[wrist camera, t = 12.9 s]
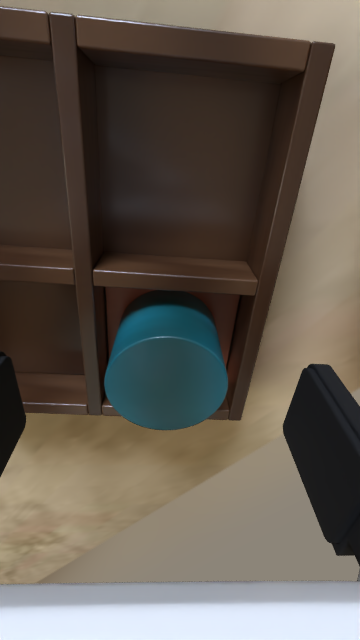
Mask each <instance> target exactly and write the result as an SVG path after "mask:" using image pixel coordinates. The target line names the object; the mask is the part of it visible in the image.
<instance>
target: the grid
mask: <svg viewBox="0 0 360 640" xmlns="http://www.w3.org/2000/svg"><path fill="white" fill-rule="evenodd" d="M334 49H335V44H333V43H325V42H316V41H314V42H312V43H311V42H310V41H306V40H297V39H288V38H279V37H270V36H261V35H253V34H244V33H235V32H226V31H217V30H208V29H199V28H190V27H182V26H173V25H164V24H155V23H146V22H137V21H128V20H119V19H110V18H102V17H93V16H84V15H77V16H76V17H75V16H74V15H72V14H66V13H57V12H50V13H49V14H48V13H47V12H46V11H39V10H31V9H22V8H13V7H4V6H0V351H2V352H4V353H5V354H6V356H9V357H10V358H11V359H12V363H13V367H14V371H15V375H16V379H17V383H18V387H19V391H20V395H21V399H22V403H23V407H24V411H25V413H50V414H77V415H88V413H89V415H102V414H103V415H105V416H121V415H120V414H119V413H118V412H117V411H116V410H115V409H114V408H113V406H112V405H111V404H110V402H109V400H108V398H107V395H106V392H105V386H104V378H105V373H106V369H107V366H108V362H109V359H110V355H111V352H112V348H113V345H114V341H115V338H116V334H117V331H118V327H119V324H120V320H121V317H122V315H123V313H124V311H125V309H126V308H127V307H128V305H129V304H130V303H131V302H132V301H133V300H135V299H136V298H138V297H139V296H141V295H143V294H145V293H147V292H150V291H154V290H168V291H184V292H187V293H190V294H192V295H194V296H195V297H197V298H198V299H200V300H201V301H202V302H203V303H204V304H205V305H206V306H207V307H208V308H209V310H210V311H211V313H212V315H213V318H214V321H215V325H216V329H217V333H218V338H219V342H220V346H221V350H222V355H223V359H224V363H225V367H226V371H227V376H228V390H227V393H226V396H225V399H224V401H223V403H222V404H221V406H220V407H219V408H218V409H217V411H216V412H215V413H213V414H212V415H211V416H210V417H209V418H207V419H214V420H227V419H228V420H238V421H240V420H241V417H242V413H243V409H244V405H245V402H246V398H247V394H248V390H249V386H250V382H251V378H252V374H253V370H254V366H255V362H256V358H257V354H258V350H259V346H260V342H261V338H262V334H263V330H264V326H265V322H266V318H267V314H268V310H269V306H270V303H271V299H272V295H273V291H274V287H275V283H276V279H277V275H278V271H279V267H280V263H281V259H282V255H283V251H284V247H285V243H286V239H287V235H288V231H289V227H290V223H291V219H292V215H293V211H294V208H295V204H296V200H297V196H298V192H299V188H300V184H301V180H302V176H303V172H304V168H305V164H306V160H307V156H308V152H309V148H310V144H311V140H312V136H313V132H314V128H315V124H316V120H317V116H318V112H319V109H320V105H321V101H322V97H323V93H324V89H325V85H326V81H327V77H328V73H329V69H330V65H331V61H332V57H333V53H334Z"/></svg>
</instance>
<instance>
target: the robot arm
mask: <svg viewBox="0 0 360 640" xmlns="http://www.w3.org/2000/svg"><path fill="white" fill-rule="evenodd" d="M25 424H26V415H25V411H24V407H23V403H22V399H21V395H20V391H19V387H18V383H17V379H16V375H15V371H14V367H13V363H12V359H11V358H10V357H9V356H6V354H5V353H4V352H2V351H0V477H1V475H2V473H3V471H4V469H5V467H6V465H7V462H8V460H9V458H10V456H11V454H12V452H13V450H14V448H15V446H16V444H17V442H18V440H19V438H20V436H21V434H22V432H23V430H24V428H25ZM283 433H284V436H285V439H286V441H287V444H288V446H289V448H290V451H291V454H292V456H293V459H294V461H295V464H296V466H297V468H298V471H299V474H300V477H301V479H302V482H303V484H304V487H305V489H306V492H307V494H308V497H309V499H310V502H311V504H312V507H313V509H314V512H315V514H316V517H317V519H318V522H319V525H320V527H321V530H322V532H323V535H324V537H325V539H326V540H327V541H328V542H329V543H332V545H333V547H334V550H335V552H336V555H338V556H339V555H341V556H342V555H344V556H345V555H355V557H356V559H357V561H358V564H359V566H360V406H359V405H358V404H357V402H356V401H355V399H354V398H353V397H352V395H351V394H350V392H349V391H348V390H347V388H346V387H345V386H344V384H343V383H342V381H341V380H340V379H339V377H338V376H337V374H336V373H335V372H334V370H333V369H332V367H331V366H330V365H325V364H310V365H309V366H308V367H307V368H304V369H303V371H302V373H301V376H300V379H299V381H298V384H297V387H296V390H295V393H294V395H293V398H292V401H291V404H290V407H289V409H288V412H287V415H286V418H285V420H284V423H283ZM0 640H360V570H359V575H358V579H357V581H213V582H212V581H210V582H209V581H206V582H124V583H123V582H119V583H117V582H115V583H55V584H54V583H52V584H50V583H49V584H0Z"/></svg>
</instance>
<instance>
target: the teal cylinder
mask: <svg viewBox="0 0 360 640" xmlns="http://www.w3.org/2000/svg"><path fill="white" fill-rule="evenodd" d="M104 386H105V392H106V395H107V398H108V400H109V402H110V404H111V405H112V406H113V408H114V409H115V410H116V411H117V412H118V413H119V414H120V415H121V416H123V417H124V418H125V419H127V420H129V421H130V422H132V423H134V424H137V425H139V426H142V427H146V428H149V429H155V430H177V429H183V428H187V427H190V426H193V425H196V424H198V423H200V422H202V421H204V420H206V419H207V418H209V417H210V416H211V415H212V414H213V413H215V412H216V411H217V409H218V408H219V407H220V406H221V404H222V403H223V401H224V399H225V396H226V393H227V390H228V376H227V371H226V367H225V363H224V359H223V355H222V350H221V346H220V342H219V338H218V333H217V329H216V325H215V321H214V318H213V315H212V313H211V311H210V310H209V308H208V307H207V306H206V305H205V304H204V303H203V302H202V301H201V300H200V299H198V298H197V297H195V296H194V295H192V294H190V293H187V292H184V291H168V290H154V291H150V292H147V293H145V294H143V295H141V296H139V297H138V298H136V299H135V300H133V301H132V302H131V303H130V304H129V305H128V307H127V308H126V309H125V311H124V313H123V315H122V317H121V320H120V324H119V327H118V331H117V334H116V338H115V341H114V345H113V348H112V352H111V355H110V359H109V362H108V366H107V369H106V373H105V378H104Z"/></svg>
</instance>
